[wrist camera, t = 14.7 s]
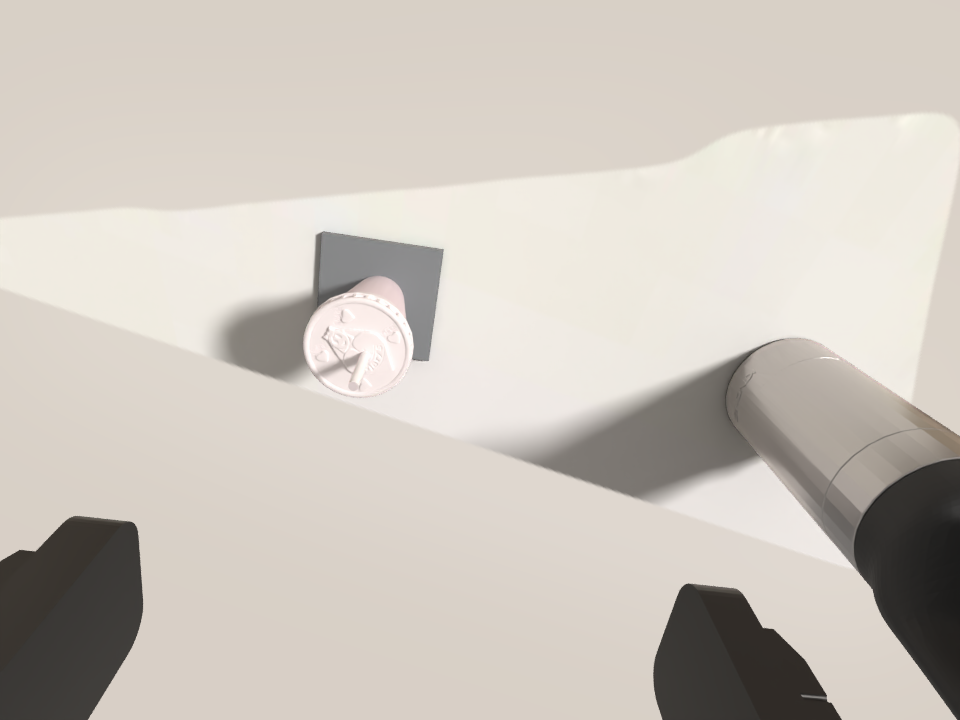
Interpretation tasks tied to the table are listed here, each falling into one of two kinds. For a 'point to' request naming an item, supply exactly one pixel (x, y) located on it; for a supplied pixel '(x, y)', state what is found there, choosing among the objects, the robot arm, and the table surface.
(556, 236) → the table surface
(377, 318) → the smoothie
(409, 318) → the coaster
